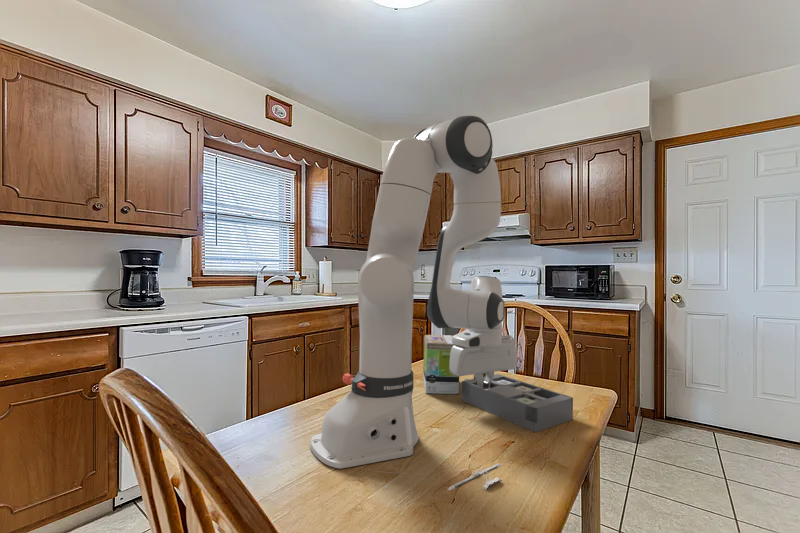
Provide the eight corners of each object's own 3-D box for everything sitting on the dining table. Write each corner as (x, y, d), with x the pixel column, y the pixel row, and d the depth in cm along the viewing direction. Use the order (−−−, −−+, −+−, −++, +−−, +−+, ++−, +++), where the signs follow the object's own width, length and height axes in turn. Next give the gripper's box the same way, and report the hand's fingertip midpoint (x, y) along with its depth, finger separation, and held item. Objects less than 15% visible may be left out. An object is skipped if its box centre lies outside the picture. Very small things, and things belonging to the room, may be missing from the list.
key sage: (527, 411, 91) (527, 404, 91) (513, 406, 94) (513, 399, 94) (538, 408, 93) (538, 401, 93) (524, 403, 96) (524, 396, 96)
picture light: (499, 465, 73) (499, 454, 73) (519, 475, 70) (519, 464, 70) (445, 491, 64) (446, 478, 64) (465, 504, 61) (466, 491, 61)
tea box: (460, 394, 112) (460, 343, 112) (425, 394, 112) (425, 342, 112) (453, 379, 127) (454, 334, 127) (422, 379, 127) (423, 333, 127)
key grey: (504, 391, 105) (504, 385, 105) (493, 387, 109) (493, 381, 109) (514, 388, 108) (514, 383, 108) (503, 385, 111) (503, 379, 111)
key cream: (524, 398, 100) (524, 391, 100) (511, 393, 103) (511, 387, 103) (534, 395, 102) (534, 389, 102) (521, 391, 105) (522, 385, 105)
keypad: (535, 432, 87) (535, 408, 87) (461, 400, 107) (462, 381, 107) (572, 419, 95) (573, 397, 95) (497, 392, 115) (497, 373, 115)
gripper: (506, 332, 112) (505, 381, 112) (446, 337, 103) (445, 389, 103) (522, 336, 106) (521, 387, 106) (460, 341, 97) (459, 397, 97)
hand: (483, 388), depth 105 cm, fingers closed
